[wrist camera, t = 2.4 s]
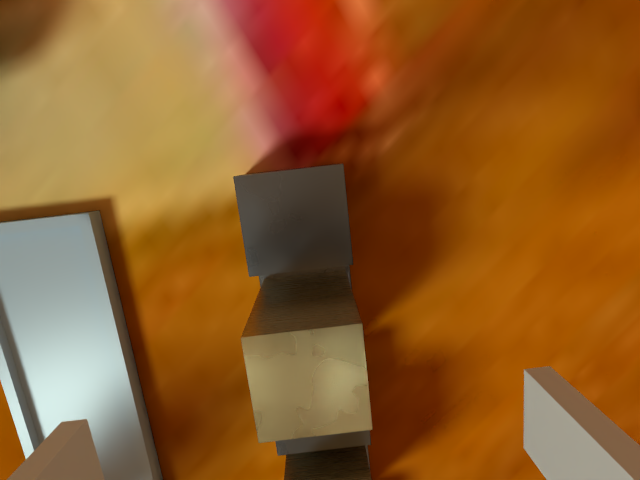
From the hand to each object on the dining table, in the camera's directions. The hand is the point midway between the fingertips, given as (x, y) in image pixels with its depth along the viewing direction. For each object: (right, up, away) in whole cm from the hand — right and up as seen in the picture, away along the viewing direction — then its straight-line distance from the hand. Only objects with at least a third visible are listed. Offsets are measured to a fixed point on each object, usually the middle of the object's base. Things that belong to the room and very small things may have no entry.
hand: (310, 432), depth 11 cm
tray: (-14, -2, +11) cm, 18 cm away
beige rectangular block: (0, +2, +10) cm, 10 cm away
